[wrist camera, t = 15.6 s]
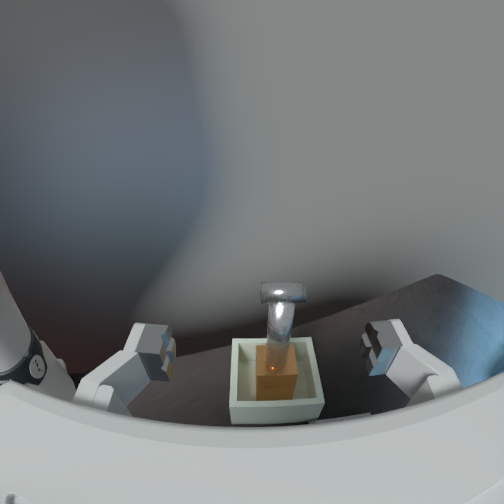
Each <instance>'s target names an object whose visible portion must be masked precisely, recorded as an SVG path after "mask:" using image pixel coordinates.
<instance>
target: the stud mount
mask: <svg viewBox="0 0 504 504" xmlns="http://www.w3.org/2000/svg"><path fill="white" fill-rule="evenodd" d="M370 415H371V414H370V412H369V413H364V414H358V415H352V416H346V417H339V418H332V419H324V420H315V421H309V422H308V424H317V423H326V422H333V421H341V420H347V419H353V418H359V417H365V416H370Z"/></svg>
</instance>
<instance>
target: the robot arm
mask: <svg viewBox="0 0 504 504" xmlns="http://www.w3.org/2000/svg"><path fill="white" fill-rule="evenodd" d="M365 331H366V333H365V334H364V335H362V337H361V340H360V352H361V355H362V357H363V358H365V359H366V363H365V367H366V369H367V372H368V375H369V376H373V375H381V374H386V375H387V376H388V377H389V378H390V379H391V380H392V381H393V382H394V383H395V384H396V385H397V386H398V387H399V388H400V389H401V390H402V391H403V392H404V393H405V394H406V395H407V396H408V397H409V398H411V400H410V401H409V403H408V404H407V405H406V407H405V408H401V409H397V410H393V411H389V412H384V413H380V414H375V415H370V416H365V417H359V418H353V419H347V420H341V421H333V422H326V423H317V424H307V425H295V426H278V427H218V426H201V425H189V424H179V423H170V422H163V421H156V420H149V419H143V418H137V417H133V416H132V415H131V414H130V412H129V411H128V409H127V408H126V406H127V405H128V404H129V403H130V402H131V401H132V400H133V399H134V398H135V397H136V396H137V395H138V394H139V393H140V392H141V391H142V389H143V388H144V387H145V386H146V385H147V384H148V383H149V382H150V381H151V380H158V381H170V377H171V373H172V366H171V363H172V362H173V361H174V360H175V355H176V345H175V340H174V339H173V338H172V337H171V335H172V329H171V326H169V325H157V324H145V323H135V324H134V325H133V328H132V330H131V332H130V335H129V337H128V340H127V342H126V345H125V347H124V350H123V351H119V352H117V353H116V354H115V355H113V356H112V357H111V358H109V359H108V360H106V361H105V362H104V363H102V364H101V365H100V366H98V367H97V368H96V369H94V370H93V371H92V372H90V373H89V374H88V375H86V376H85V377H84V378H82V379H81V381H80V384H79V386H78V389H77V391H76V389H75V385H74V382H73V380H72V379H71V377H70V376H69V375H68V373H67V369H66V364H65V362H64V361H63V360H62V359H57V358H56V357H55V356H54V354H53V353H52V352H51V351H50V349H49V348H48V347H47V345H46V344H45V343H44V342H43V341H39V340H38V338H37V336H36V334H35V333H34V331H33V330H32V329H31V327H30V326H29V325H27V324H26V322H25V321H24V319H23V317H22V315H21V313H20V311H19V310H18V308H17V306H16V304H15V302H14V300H13V298H12V296H11V293H10V291H9V289H8V287H7V285H6V283H5V281H4V279H3V276H2V274H1V272H0V504H504V371H503V372H501V373H499V374H497V375H494V376H492V377H490V378H488V379H486V380H483V381H481V382H479V383H476V384H474V385H471V386H469V387H466V388H464V389H463V388H462V386H461V384H460V382H459V380H458V378H457V376H456V374H455V372H454V370H453V369H452V368H451V367H449V366H448V365H446V364H445V363H443V362H442V361H440V360H439V359H438V358H436V357H435V356H433V355H432V354H430V353H429V352H427V351H426V350H424V349H423V348H421V347H420V346H418V345H417V344H413V343H412V341H411V339H410V337H409V335H408V333H407V331H406V330H405V328H404V326H403V324H402V322H401V321H400V320H399V319H392V320H384V321H375V322H368V323H367V324H366V326H365Z"/></svg>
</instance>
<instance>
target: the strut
mask: <svg viewBox="0 0 504 504" xmlns="http://www.w3.org/2000/svg"><path fill="white" fill-rule="evenodd" d="M260 297H261V304H269V316H268V332H267V333H268V334H267V345H256V368H255V381H256V401H276V400H292V398H293V394H294V390H295V386H296V382H297V377H298V369H297V363H296V356H295V350H294V344H293V345H289V343H290V337H291V330H292V322H293V315H294V307H295V303H305V302H306V299H307V287H306V283H305V282H261V287H260Z"/></svg>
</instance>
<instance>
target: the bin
mask: <svg viewBox="0 0 504 504" xmlns="http://www.w3.org/2000/svg"><path fill="white" fill-rule="evenodd" d="M293 344H294V350H295V356H296V363H297V369H298V377H297V382H296V386H295V390H294V394H293V398H292V400H276V401H256V381H255V368H256V345H267V339H233V340H232V359H231V379H230V401H229V409H230V416H231V423H232V424H279V423H296V422H308V421H315V420H317V419H318V417H319V415H320V413H321V410H322V408H323V406H324V404H325V401H324V396H323V391H322V386H321V381H320V376H319V371H318V367H317V362H316V357H315V353H314V348H313V344H312V339H311V337H301V338H290V343H289V345H293Z"/></svg>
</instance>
